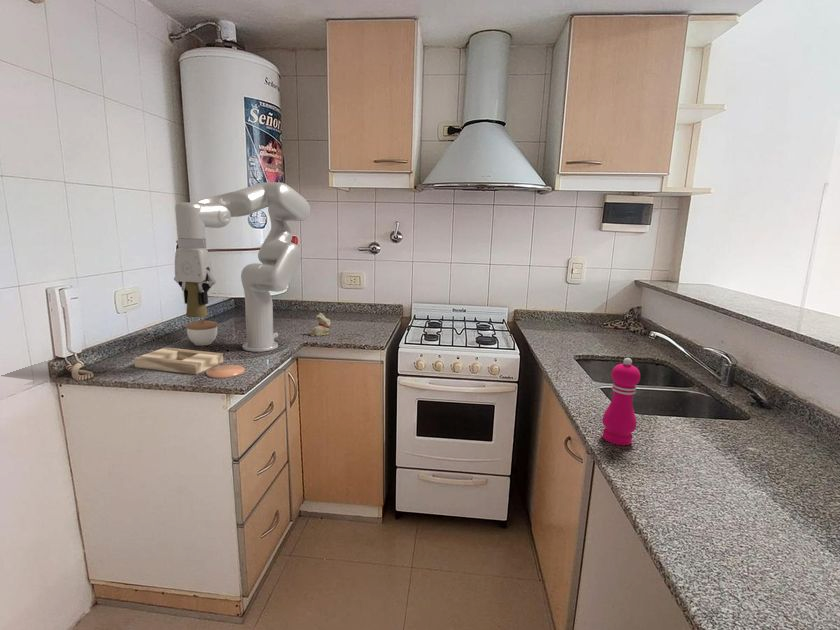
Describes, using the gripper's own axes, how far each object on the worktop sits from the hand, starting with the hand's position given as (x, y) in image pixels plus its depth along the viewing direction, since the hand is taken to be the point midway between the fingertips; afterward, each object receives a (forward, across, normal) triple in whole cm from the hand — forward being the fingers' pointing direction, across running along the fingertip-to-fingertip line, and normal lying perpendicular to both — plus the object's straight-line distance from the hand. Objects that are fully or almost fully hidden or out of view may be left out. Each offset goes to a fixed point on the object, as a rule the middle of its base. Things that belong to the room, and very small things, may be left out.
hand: (196, 303), depth 136 cm
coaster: (+21, +10, -1) cm, 23 cm away
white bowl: (+22, -19, +24) cm, 37 cm away
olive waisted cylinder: (+4, 0, 0) cm, 4 cm away
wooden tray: (+21, -8, 0) cm, 23 cm away
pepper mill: (+21, +123, -10) cm, 125 cm away
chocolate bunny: (+22, +16, +52) cm, 59 cm away
